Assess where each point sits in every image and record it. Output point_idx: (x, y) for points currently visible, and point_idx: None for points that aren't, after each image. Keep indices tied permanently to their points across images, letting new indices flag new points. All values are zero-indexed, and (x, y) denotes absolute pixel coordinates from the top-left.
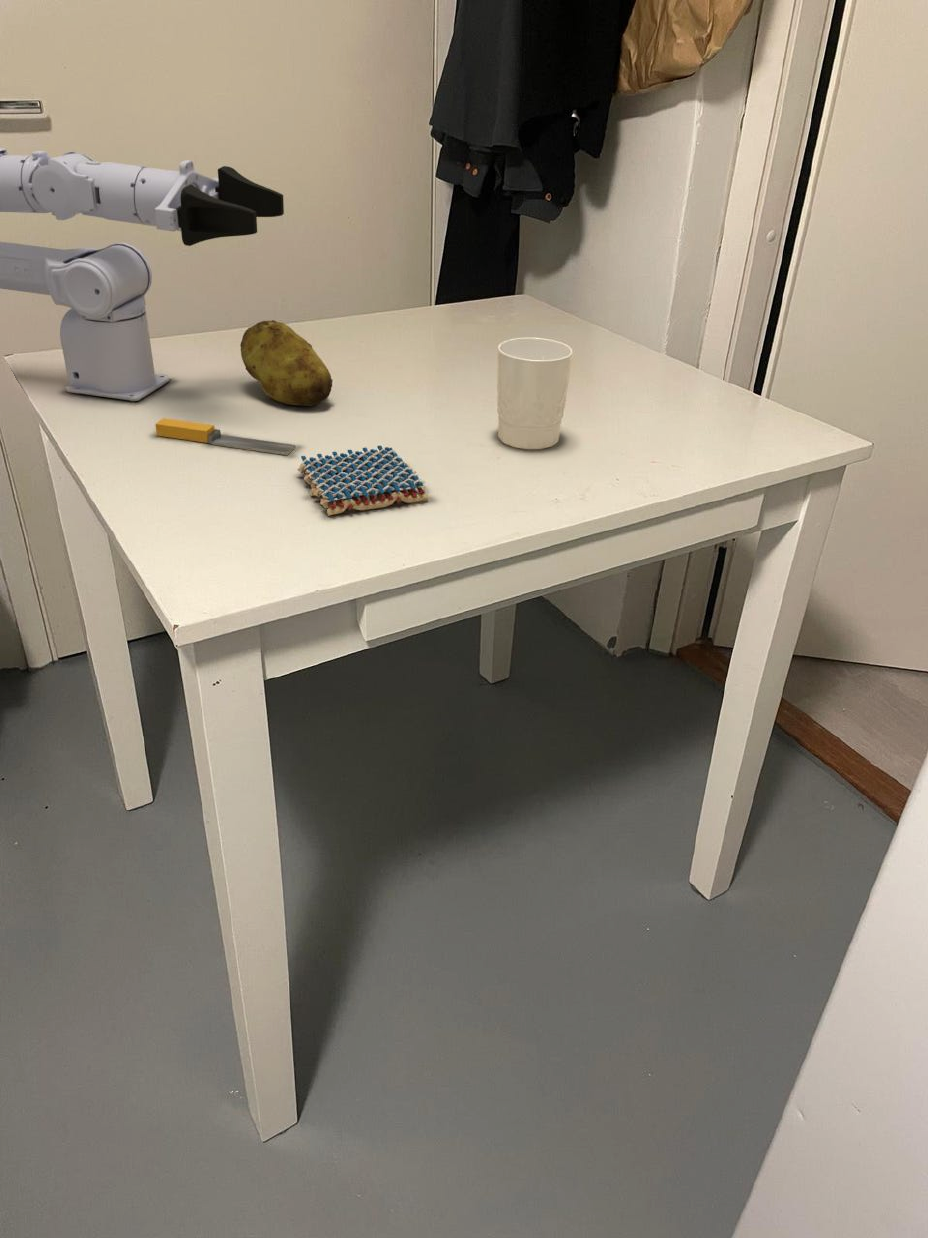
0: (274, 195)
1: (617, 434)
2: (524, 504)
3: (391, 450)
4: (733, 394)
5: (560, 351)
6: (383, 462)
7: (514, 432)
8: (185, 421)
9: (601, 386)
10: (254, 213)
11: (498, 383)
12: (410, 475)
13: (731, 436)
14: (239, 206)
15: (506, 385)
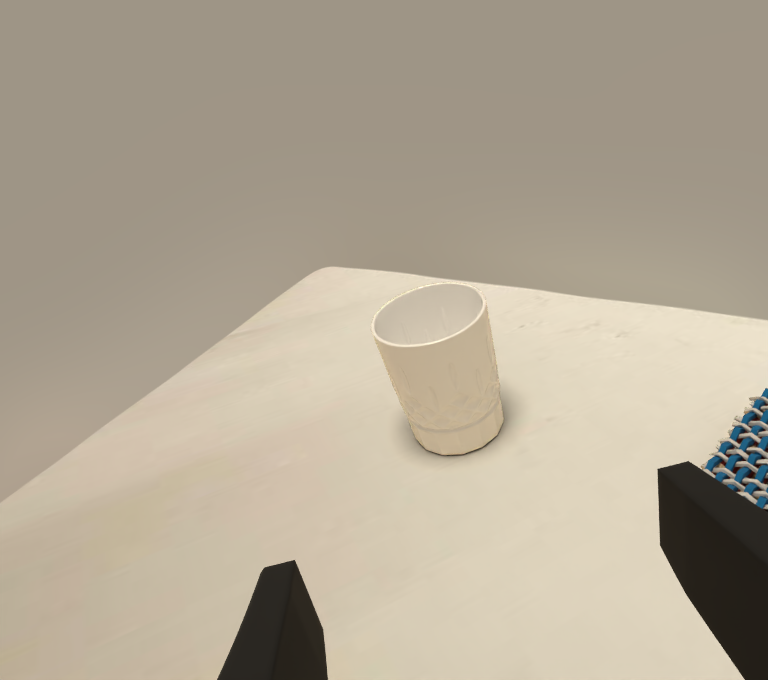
0: (295, 593)
1: None
2: (658, 346)
3: (705, 471)
4: (216, 352)
5: (387, 318)
6: (757, 456)
7: (500, 402)
8: None
9: (220, 445)
10: (682, 466)
11: (473, 375)
12: (758, 411)
13: (345, 315)
14: (727, 508)
15: (488, 356)
